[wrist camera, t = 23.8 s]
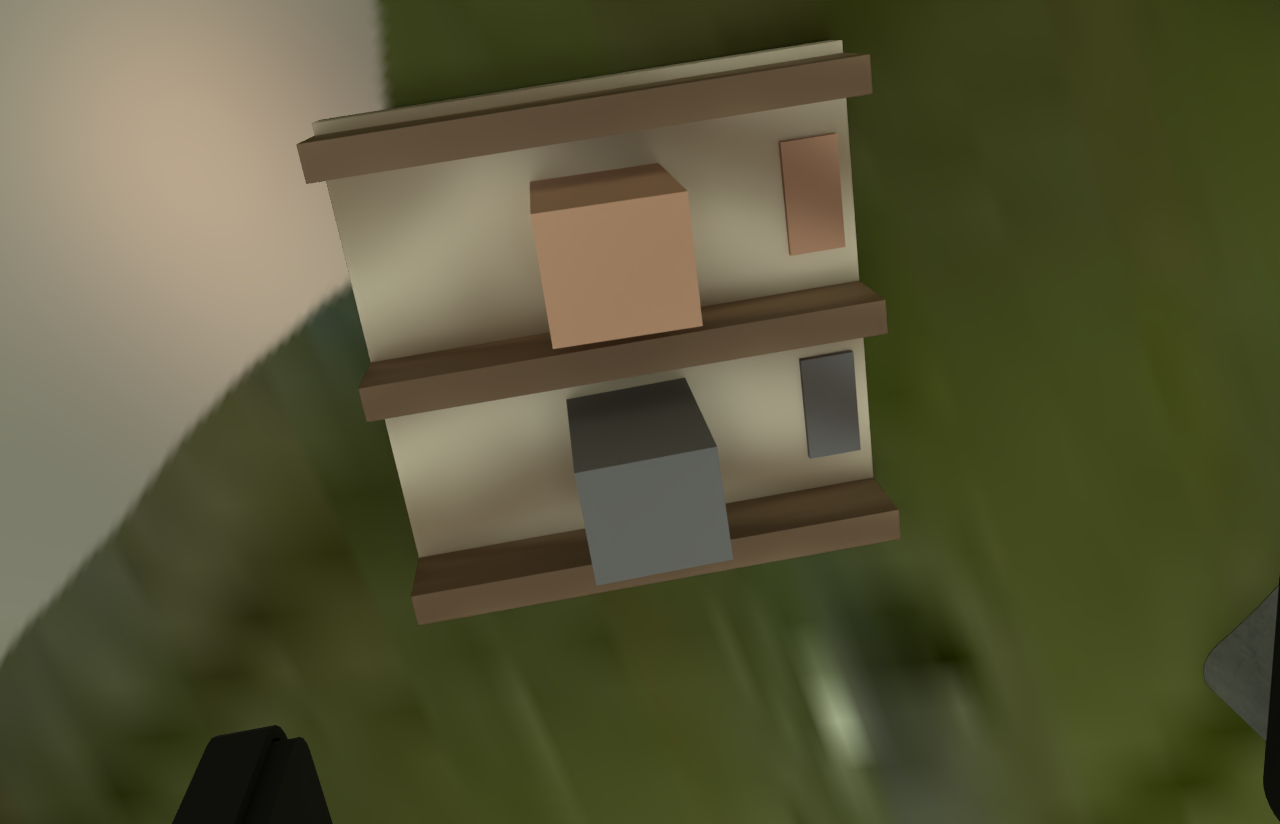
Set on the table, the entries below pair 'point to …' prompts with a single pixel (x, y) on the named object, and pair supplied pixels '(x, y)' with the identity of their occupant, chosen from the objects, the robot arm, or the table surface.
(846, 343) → the cream shelf rack
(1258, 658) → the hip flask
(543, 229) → the terracotta plug block
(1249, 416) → the table surface
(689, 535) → the grey plug block
